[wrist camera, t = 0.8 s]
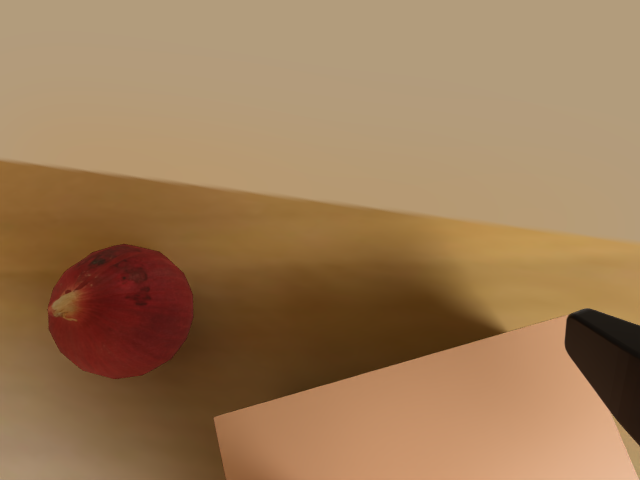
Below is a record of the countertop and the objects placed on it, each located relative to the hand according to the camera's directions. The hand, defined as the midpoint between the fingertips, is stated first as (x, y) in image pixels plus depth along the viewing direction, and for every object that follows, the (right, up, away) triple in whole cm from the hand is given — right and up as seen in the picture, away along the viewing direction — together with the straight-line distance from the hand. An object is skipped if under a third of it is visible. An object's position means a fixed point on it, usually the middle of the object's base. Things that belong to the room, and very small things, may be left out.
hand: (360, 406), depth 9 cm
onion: (-9, -1, +16) cm, 18 cm away
